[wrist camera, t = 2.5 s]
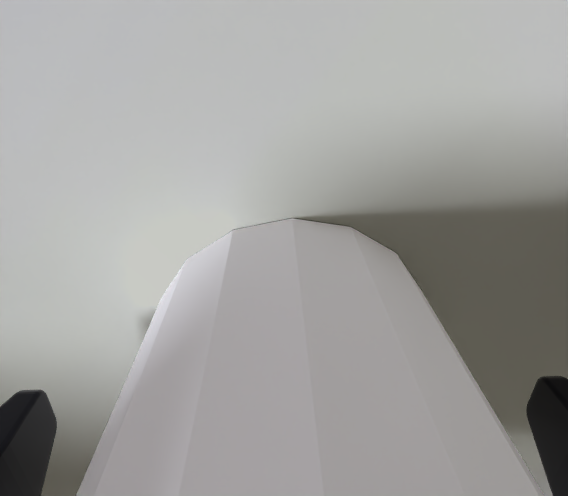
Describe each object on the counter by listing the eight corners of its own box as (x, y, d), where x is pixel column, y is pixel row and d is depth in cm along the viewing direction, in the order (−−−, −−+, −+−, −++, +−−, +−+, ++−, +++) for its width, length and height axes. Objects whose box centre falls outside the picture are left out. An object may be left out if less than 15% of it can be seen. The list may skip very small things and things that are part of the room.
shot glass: (55, 268, 9) (-306, 860, 3) (406, 126, 8) (806, 688, 2) (221, 461, 13) (185, 912, 7) (482, 385, 11) (708, 861, 6)
